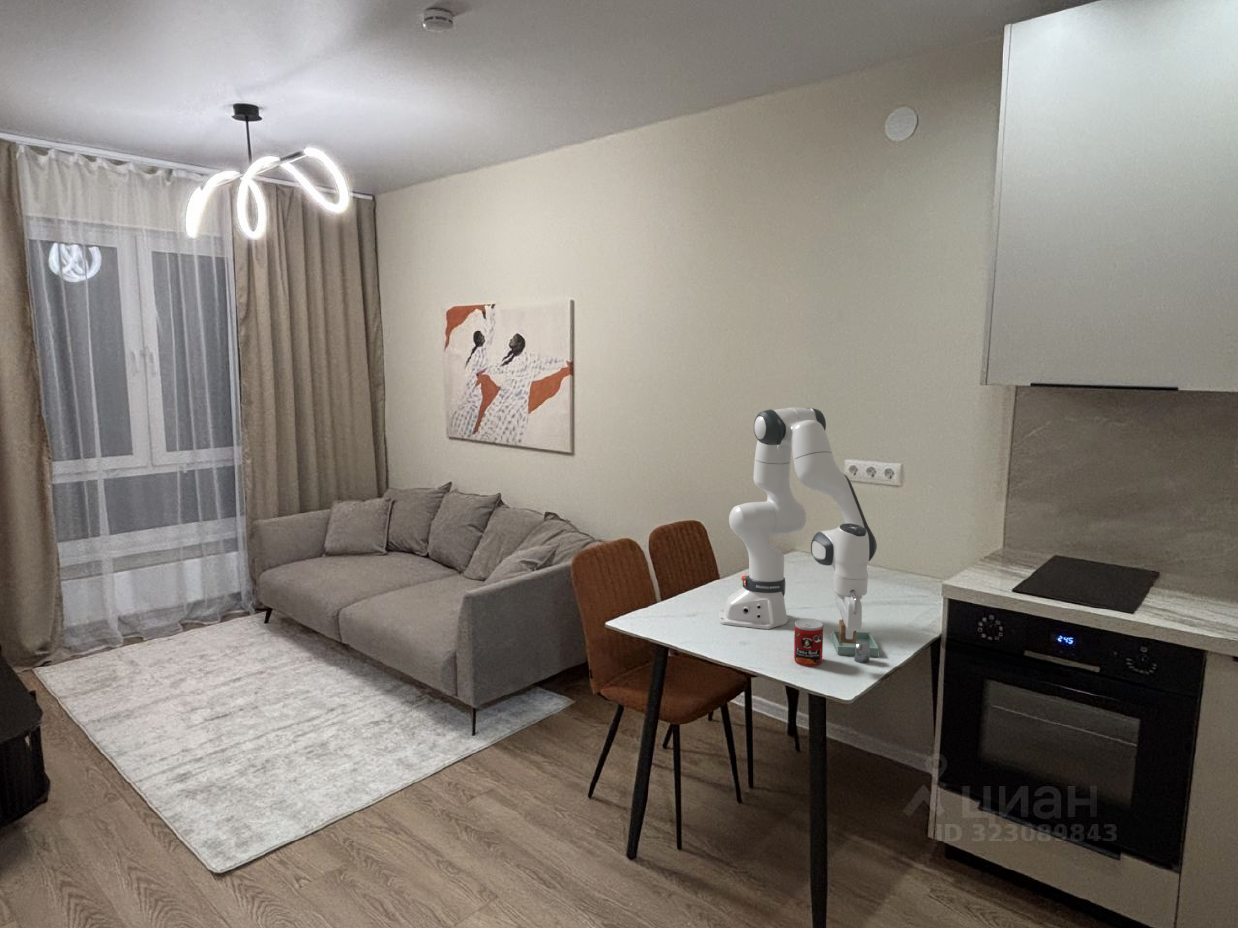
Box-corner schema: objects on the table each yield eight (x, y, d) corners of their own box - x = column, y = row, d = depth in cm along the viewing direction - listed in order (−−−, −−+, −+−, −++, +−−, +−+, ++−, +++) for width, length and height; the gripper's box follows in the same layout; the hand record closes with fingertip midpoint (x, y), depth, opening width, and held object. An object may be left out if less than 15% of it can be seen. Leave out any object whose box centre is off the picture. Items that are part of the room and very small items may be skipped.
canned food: (792, 664, 208) (792, 626, 206) (796, 654, 215) (796, 617, 214) (820, 668, 205) (821, 629, 204) (823, 658, 213) (824, 620, 211)
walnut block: (840, 642, 202) (841, 624, 201) (838, 637, 206) (839, 619, 205) (855, 643, 201) (856, 625, 201) (853, 637, 205) (854, 620, 204)
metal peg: (855, 663, 209) (856, 645, 208) (853, 657, 213) (853, 640, 212) (870, 663, 208) (871, 646, 208) (867, 658, 212) (868, 641, 212)
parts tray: (837, 654, 215) (837, 646, 214) (831, 638, 228) (831, 630, 227) (878, 656, 213) (878, 648, 213) (869, 640, 226) (870, 632, 226)
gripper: (869, 598, 191) (866, 650, 193) (855, 574, 211) (853, 621, 213) (843, 597, 191) (840, 648, 194) (832, 573, 211) (830, 620, 214)
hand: (847, 634), depth 203 cm, fingers closed on walnut block, 4 cm apart
